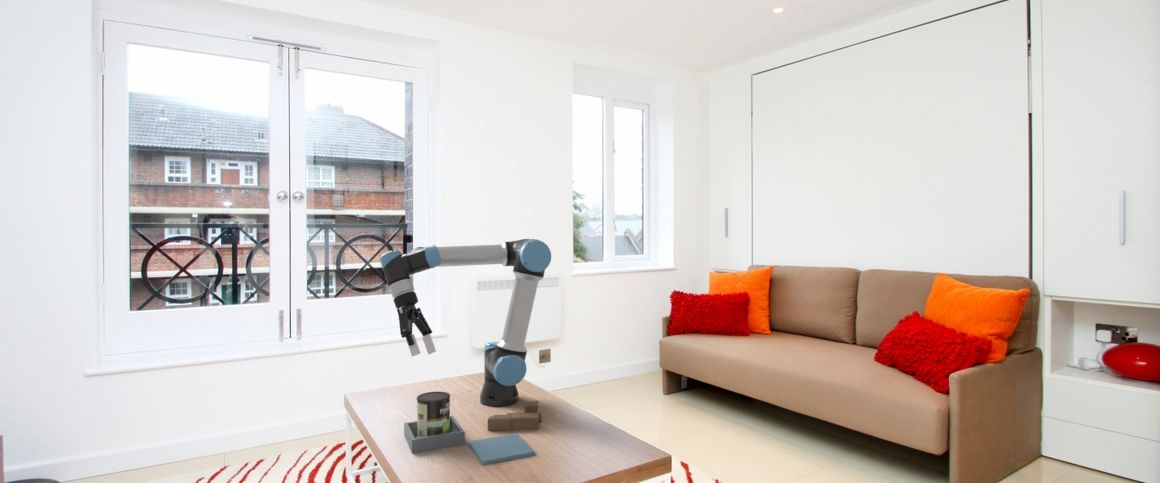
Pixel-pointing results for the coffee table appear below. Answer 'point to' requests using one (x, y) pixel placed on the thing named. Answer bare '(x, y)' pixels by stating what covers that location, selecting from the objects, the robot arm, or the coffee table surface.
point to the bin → (434, 437)
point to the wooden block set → (517, 419)
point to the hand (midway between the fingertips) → (424, 354)
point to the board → (500, 448)
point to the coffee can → (433, 414)
